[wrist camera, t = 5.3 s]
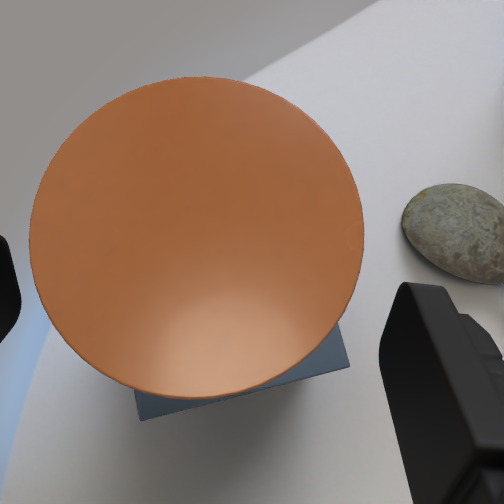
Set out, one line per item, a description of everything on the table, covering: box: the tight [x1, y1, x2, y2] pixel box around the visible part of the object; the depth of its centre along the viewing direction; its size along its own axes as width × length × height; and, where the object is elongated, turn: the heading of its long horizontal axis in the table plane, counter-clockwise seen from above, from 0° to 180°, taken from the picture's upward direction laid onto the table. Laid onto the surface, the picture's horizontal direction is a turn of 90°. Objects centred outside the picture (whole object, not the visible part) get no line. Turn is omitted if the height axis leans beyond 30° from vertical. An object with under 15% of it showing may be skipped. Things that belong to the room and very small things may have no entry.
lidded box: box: [134, 323, 350, 421], centre depth 24 cm, size 9×8×9 cm
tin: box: [29, 77, 364, 400], centre depth 14 cm, size 6×6×12 cm
